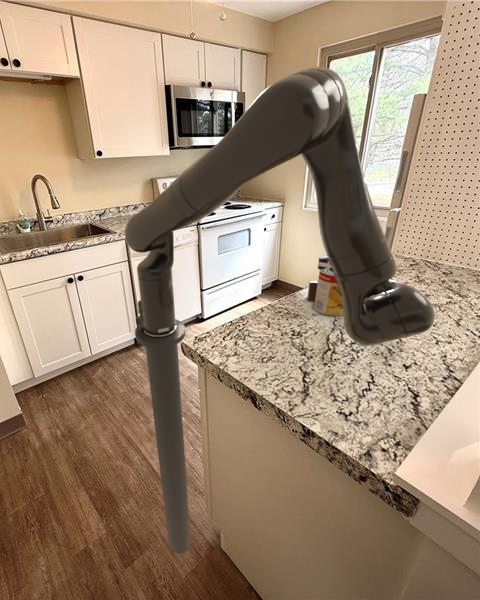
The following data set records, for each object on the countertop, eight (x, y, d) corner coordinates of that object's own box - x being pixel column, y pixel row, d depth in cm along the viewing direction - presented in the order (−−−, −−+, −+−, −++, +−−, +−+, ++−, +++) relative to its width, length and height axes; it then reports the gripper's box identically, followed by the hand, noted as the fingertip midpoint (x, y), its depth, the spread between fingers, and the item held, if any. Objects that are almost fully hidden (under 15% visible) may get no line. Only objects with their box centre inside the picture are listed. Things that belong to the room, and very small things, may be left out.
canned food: (352, 311, 87) (360, 271, 82) (329, 318, 85) (337, 277, 80) (329, 301, 94) (335, 263, 88) (307, 306, 92) (313, 268, 87)
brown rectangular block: (307, 300, 95) (310, 282, 93) (307, 297, 97) (309, 280, 94) (345, 303, 91) (349, 284, 89) (344, 300, 93) (347, 281, 91)
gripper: (406, 259, 56) (379, 236, 70) (323, 258, 60) (313, 237, 75) (397, 297, 59) (373, 267, 73) (318, 293, 63) (310, 266, 78)
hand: (343, 252), depth 74 cm, fingers closed
